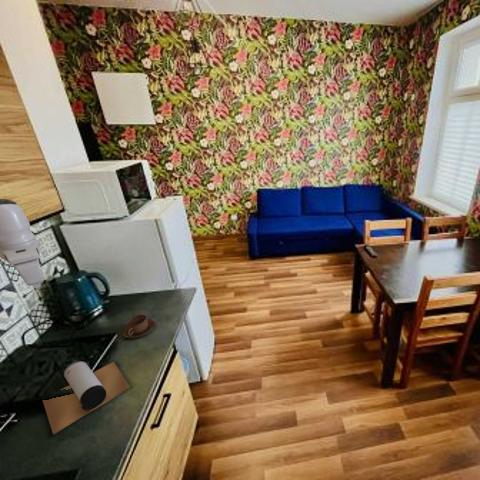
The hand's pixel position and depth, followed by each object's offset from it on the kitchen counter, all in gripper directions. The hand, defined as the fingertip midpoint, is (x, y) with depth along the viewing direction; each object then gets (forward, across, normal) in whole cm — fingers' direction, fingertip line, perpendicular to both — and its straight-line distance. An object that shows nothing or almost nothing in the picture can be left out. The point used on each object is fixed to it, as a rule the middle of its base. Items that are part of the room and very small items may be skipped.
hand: (37, 286), depth 90 cm
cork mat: (+34, +22, 0) cm, 41 cm away
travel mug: (+30, +11, 0) cm, 32 cm away
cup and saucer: (+34, +2, +23) cm, 41 cm away
